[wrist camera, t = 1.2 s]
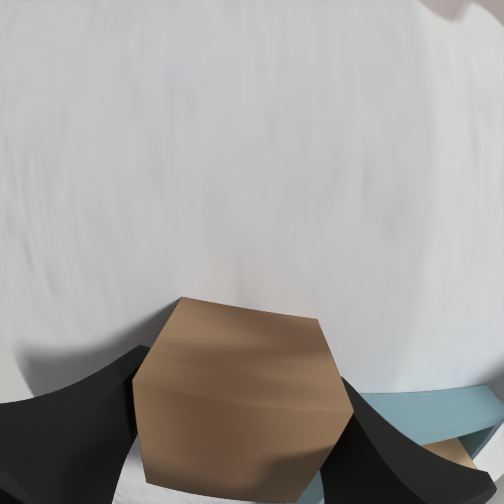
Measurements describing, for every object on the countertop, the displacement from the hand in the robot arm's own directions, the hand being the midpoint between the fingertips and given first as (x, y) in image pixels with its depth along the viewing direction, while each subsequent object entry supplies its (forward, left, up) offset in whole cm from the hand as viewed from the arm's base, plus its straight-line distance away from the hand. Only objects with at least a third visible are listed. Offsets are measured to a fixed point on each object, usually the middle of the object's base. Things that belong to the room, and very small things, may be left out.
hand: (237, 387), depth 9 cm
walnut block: (0, 0, -2) cm, 2 cm away
